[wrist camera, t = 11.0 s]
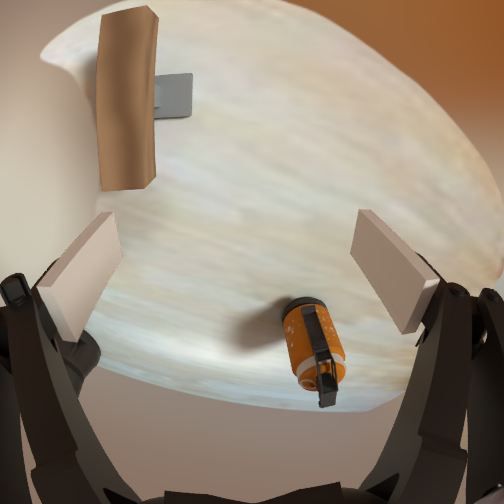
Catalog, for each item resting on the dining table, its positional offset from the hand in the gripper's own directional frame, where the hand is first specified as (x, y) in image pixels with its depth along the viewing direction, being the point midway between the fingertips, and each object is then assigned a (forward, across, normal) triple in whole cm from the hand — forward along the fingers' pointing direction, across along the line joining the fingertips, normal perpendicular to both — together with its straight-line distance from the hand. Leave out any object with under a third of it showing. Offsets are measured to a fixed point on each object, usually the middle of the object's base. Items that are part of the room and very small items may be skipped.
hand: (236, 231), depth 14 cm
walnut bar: (+19, -12, +8) cm, 24 cm away
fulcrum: (+26, -12, +8) cm, 30 cm away
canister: (+26, +13, -29) cm, 41 cm away
